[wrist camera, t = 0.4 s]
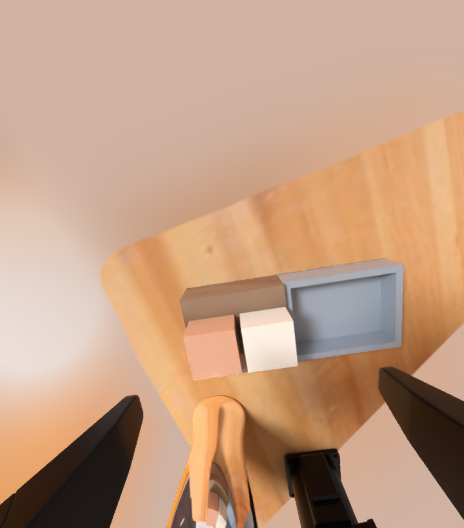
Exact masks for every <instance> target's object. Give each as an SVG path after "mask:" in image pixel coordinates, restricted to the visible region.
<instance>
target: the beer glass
mask: <svg viewBox="0 0 464 528" xmlns="http://www.w3.org/2000/svg"><path fill="white" fill-rule="evenodd" d="M245 424H246V416H245V412H244V409H243V408H242V406H241V405H240V404H239V403H238V402H237V401H235V400H234V399H232V398H229V397H225V396H213V397H209V398H207V399H205V400H203V401H201V402H200V403H199V404H198V405H197V407H196V408H195V410H194V413H193V420H192V429H193V435H192V445H191V450H190V454H189V458H188V461H187V464H186V467H185V470H184V473H183V476H182V479H181V482H180V485H179V488H178V491H177V494H176V497H175V500H174V503H173V506H172V510H171V513H170V517H169V521H168V524H167V528H258V522H257V516H256V510H255V504H254V500H253V495H252V490H251V485H250V481H249V476H248V471H247V467H246V461H245V456H244V432H245Z"/></svg>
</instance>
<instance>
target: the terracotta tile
mask: <svg viewBox="0 0 464 528" xmlns="http://www.w3.org/2000/svg"><path fill="white" fill-rule="evenodd" d="M183 339H184V344H185V348H186V352H187V356H188V360H189V365H190V369H191V373H192V377H193V381H194V380H201V379H208V378H215V377H223V376H230V375H237V374H242V364H241V352H240V346H239V341H238V335H237V329H236V323H235V318H234V315H227V316H221V317H214V318H207V319H200V320H194V321H189V322H188V325H187V328H186V330H185V333H184V336H183Z"/></svg>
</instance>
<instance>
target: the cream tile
mask: <svg viewBox="0 0 464 528" xmlns="http://www.w3.org/2000/svg"><path fill="white" fill-rule="evenodd" d="M240 324H241V333H242V339H243V344H244V350H245V356H246V362H247V368H248V373H251V372H258V371H266V370H273V369H280V368H287V367H294V366H298V362H297V352H296V343H295V333H294V324H293V320H292V318H291V316H290V314H289V312H288V311H287V309H286V307H281V308H274V309H268V310H261V311H254V312H247V313H241V314H240Z"/></svg>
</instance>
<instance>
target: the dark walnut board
mask: <svg viewBox="0 0 464 528" xmlns="http://www.w3.org/2000/svg"><path fill="white" fill-rule="evenodd" d="M180 305H181V309H182V313H183V318H184V322H185V326H186V328H187V325H188V322H189V321H194V320H200V319H207V318H214V317H221V316H227V315H234V318H235V323H236V329H237V335H238V341H239V346H240V352H241V364H242V373H245V372H248V368H247V362H246V356H245V350H244V344H243V339H242V333H241V324H240V314H241V313H247V312H254V311H261V310H268V309H274V308H281V307H286V309H287V306H286V297H285V288H284V284H283V283H282V281H281V280H280V278H279V277H278V276H277V275H273V276H266V277H260V278H253V279H247V280H240V281H234V282H227V283H221V284H214V285H208V286H201V287H195V288H188V289H186V291H185V292H184V294H183V296H182V298H181V299H180Z"/></svg>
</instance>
